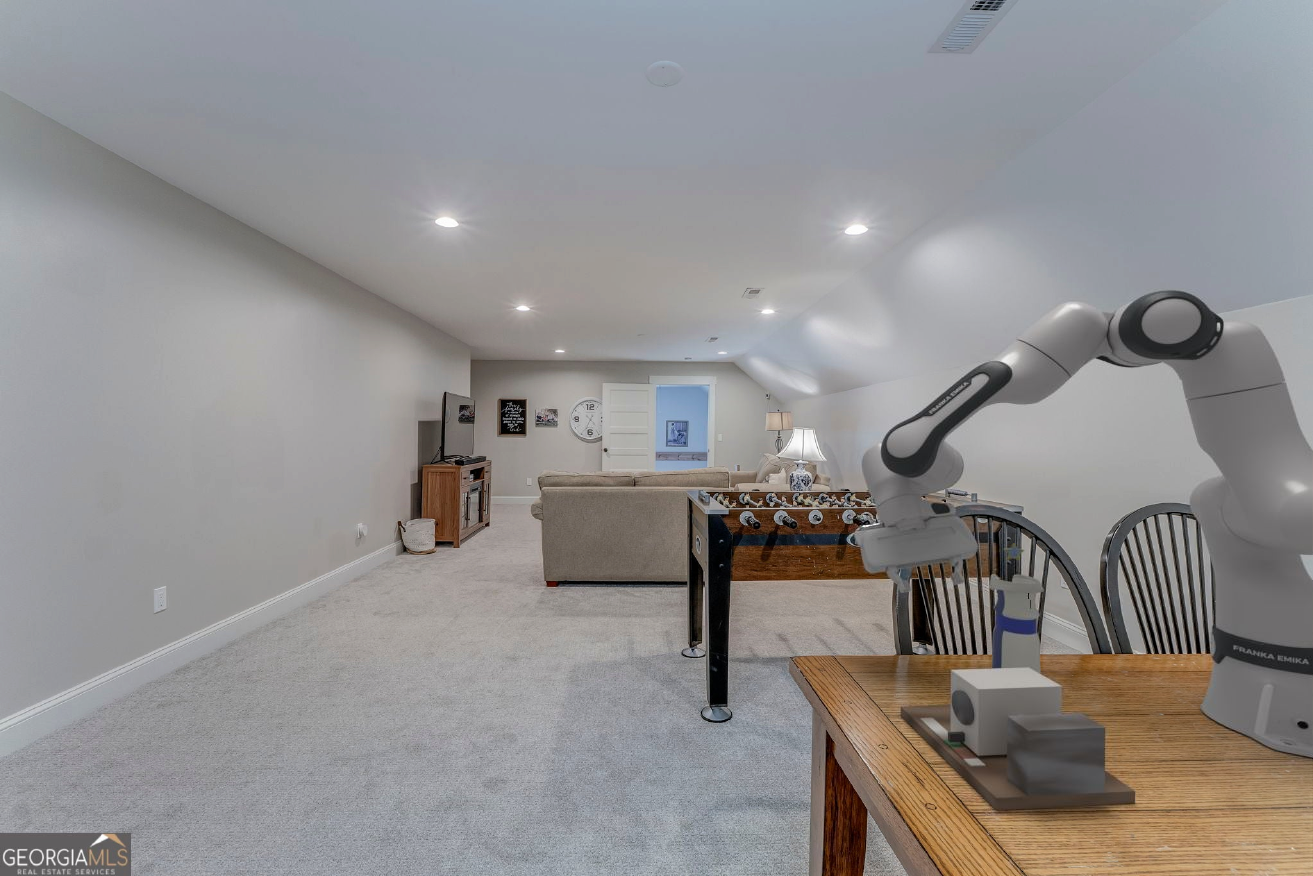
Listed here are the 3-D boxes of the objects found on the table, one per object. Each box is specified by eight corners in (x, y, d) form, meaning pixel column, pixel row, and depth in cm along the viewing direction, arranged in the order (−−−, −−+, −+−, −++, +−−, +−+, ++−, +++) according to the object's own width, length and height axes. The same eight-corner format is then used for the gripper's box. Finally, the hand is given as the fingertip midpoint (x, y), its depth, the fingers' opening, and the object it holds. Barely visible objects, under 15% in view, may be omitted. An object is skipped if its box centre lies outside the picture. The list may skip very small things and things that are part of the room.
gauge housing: (936, 731, 79) (936, 670, 79) (1028, 728, 80) (1028, 667, 80) (974, 767, 70) (975, 698, 70) (1077, 762, 71) (1077, 695, 71)
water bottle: (977, 673, 103) (978, 542, 103) (1023, 674, 103) (1024, 542, 102) (1003, 693, 95) (1004, 551, 95) (1053, 694, 94) (1054, 551, 94)
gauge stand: (900, 715, 87) (900, 657, 87) (1006, 711, 88) (1006, 654, 88) (996, 810, 65) (996, 732, 65) (1135, 803, 67) (1135, 726, 66)
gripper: (853, 520, 104) (877, 590, 96) (962, 502, 102) (995, 572, 94) (848, 534, 109) (871, 601, 101) (952, 517, 107) (983, 584, 99)
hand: (932, 587), depth 98 cm, fingers open, 8 cm apart
